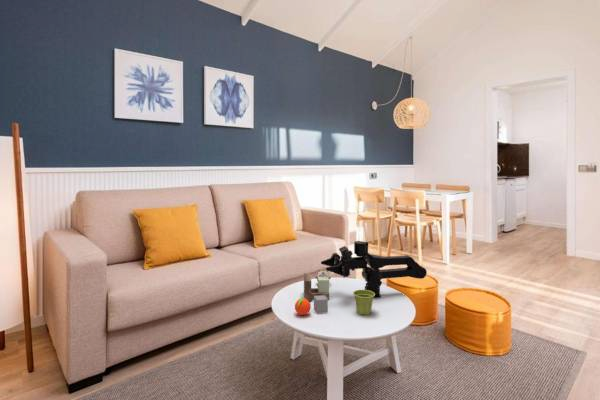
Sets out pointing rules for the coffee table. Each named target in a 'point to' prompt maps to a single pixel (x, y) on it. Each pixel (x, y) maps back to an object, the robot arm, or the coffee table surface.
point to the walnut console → (311, 289)
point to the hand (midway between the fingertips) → (323, 265)
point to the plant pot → (363, 301)
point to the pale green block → (323, 285)
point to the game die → (322, 274)
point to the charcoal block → (320, 304)
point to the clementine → (302, 306)
